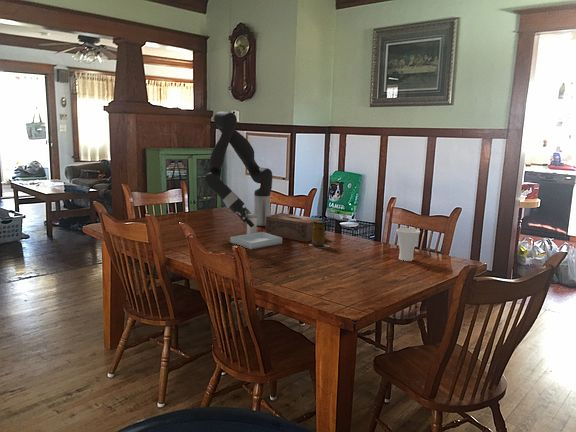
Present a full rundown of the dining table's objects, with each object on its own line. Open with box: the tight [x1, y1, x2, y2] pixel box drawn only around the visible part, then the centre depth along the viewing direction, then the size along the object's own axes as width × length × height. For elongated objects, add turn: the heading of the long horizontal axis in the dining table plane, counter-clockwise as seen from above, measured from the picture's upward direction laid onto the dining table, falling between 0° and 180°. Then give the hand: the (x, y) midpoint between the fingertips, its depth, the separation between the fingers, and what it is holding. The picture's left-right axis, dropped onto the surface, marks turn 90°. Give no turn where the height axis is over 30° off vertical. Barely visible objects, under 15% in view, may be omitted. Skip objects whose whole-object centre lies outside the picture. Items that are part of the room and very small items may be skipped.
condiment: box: [308, 220, 331, 249], centre depth 244 cm, size 7×8×12 cm
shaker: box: [246, 213, 258, 234], centre depth 263 cm, size 5×5×11 cm
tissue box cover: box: [265, 212, 322, 242], centre depth 264 cm, size 26×14×10 cm, turn 57°
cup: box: [396, 227, 421, 262], centre depth 224 cm, size 10×10×14 cm
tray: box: [230, 231, 283, 250], centre depth 245 cm, size 20×16×3 cm
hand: (254, 224), depth 263 cm, fingers open, 8 cm apart
